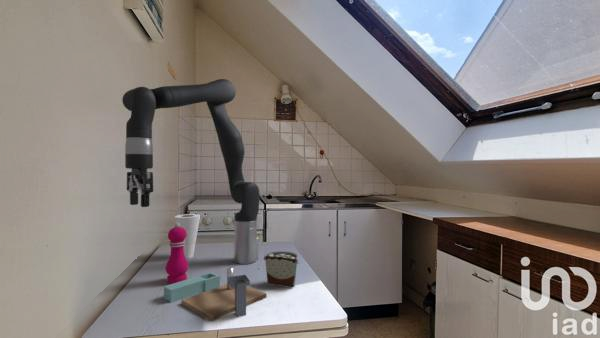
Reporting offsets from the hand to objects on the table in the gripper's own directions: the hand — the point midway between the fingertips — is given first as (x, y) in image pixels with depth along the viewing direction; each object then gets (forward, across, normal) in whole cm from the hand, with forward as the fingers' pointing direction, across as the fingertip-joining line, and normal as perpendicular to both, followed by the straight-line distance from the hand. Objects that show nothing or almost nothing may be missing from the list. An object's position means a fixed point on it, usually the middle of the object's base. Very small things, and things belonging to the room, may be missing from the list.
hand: (139, 205), depth 92 cm
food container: (+28, -27, -36) cm, 53 cm away
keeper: (+27, -32, -13) cm, 44 cm away
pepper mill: (+28, +2, -13) cm, 30 cm away
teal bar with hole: (+27, -11, -12) cm, 32 cm away
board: (+27, -24, -15) cm, 39 cm away
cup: (+28, +26, -30) cm, 48 cm away
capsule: (+27, -20, -19) cm, 39 cm away
